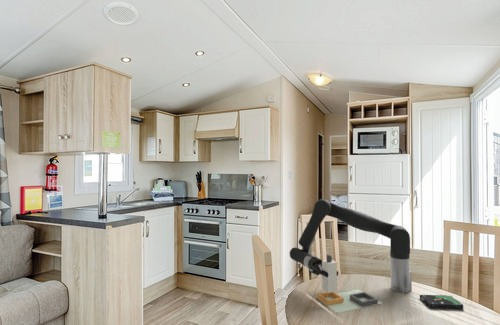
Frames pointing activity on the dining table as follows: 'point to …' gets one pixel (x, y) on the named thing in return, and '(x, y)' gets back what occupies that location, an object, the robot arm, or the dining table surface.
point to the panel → (347, 300)
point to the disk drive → (441, 302)
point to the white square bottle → (329, 275)
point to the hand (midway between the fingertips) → (332, 274)
